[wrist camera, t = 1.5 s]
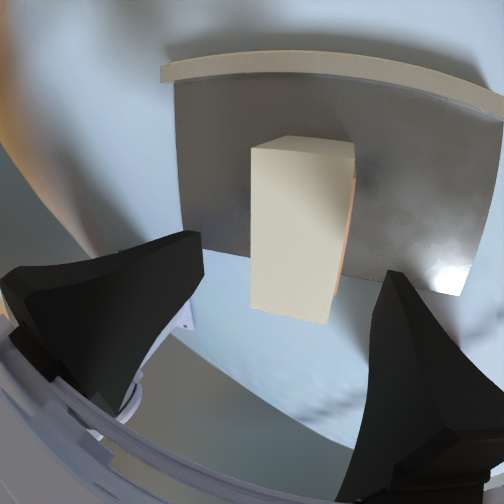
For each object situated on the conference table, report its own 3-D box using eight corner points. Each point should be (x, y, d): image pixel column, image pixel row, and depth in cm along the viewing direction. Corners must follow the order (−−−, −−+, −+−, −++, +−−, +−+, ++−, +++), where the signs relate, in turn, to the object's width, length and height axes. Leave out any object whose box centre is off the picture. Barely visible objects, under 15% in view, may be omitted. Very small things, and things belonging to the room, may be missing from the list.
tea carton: (281, 251, 20) (250, 308, 14) (287, 135, 16) (251, 147, 10) (340, 261, 18) (329, 325, 13) (356, 143, 14) (359, 159, 9)
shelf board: (192, 239, 23) (174, 254, 21) (183, 66, 16) (160, 63, 14) (455, 286, 17) (463, 309, 15) (496, 101, 10) (516, 101, 8)
